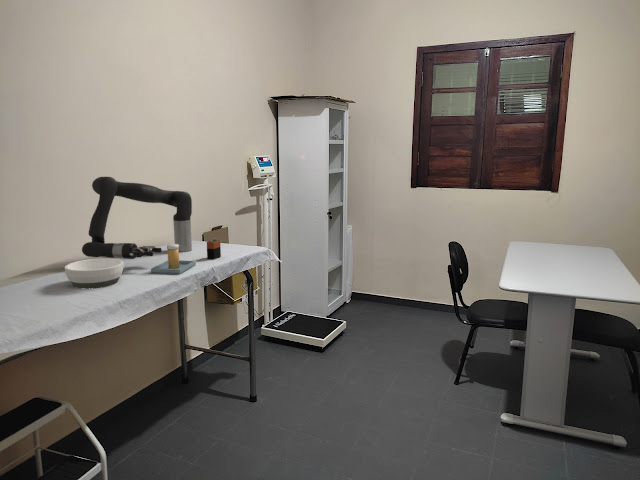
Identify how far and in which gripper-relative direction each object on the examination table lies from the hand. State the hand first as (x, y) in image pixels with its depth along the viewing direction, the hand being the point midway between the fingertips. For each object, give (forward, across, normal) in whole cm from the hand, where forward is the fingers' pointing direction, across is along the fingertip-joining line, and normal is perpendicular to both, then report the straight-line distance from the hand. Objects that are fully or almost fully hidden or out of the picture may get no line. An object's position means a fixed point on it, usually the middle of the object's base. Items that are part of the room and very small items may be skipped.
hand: (157, 252), depth 226 cm
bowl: (-14, -28, +8) cm, 32 cm away
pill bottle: (+8, 0, +7) cm, 11 cm away
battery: (+18, +26, +8) cm, 33 cm away
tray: (+8, 0, +8) cm, 11 cm away
